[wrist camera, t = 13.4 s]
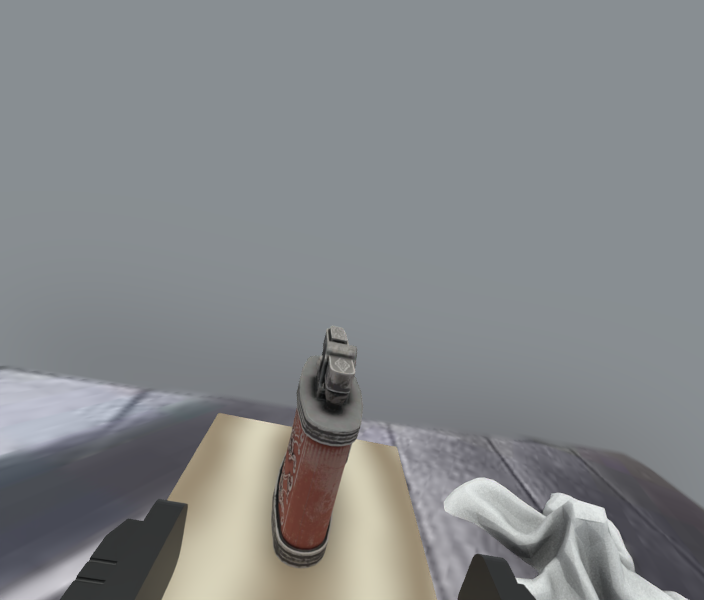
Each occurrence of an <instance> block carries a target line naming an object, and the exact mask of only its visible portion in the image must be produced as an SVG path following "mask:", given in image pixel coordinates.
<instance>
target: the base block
mask: <svg viewBox="0 0 704 600" xmlns="http://www.w3.org/2000/svg"><path fill="white" fill-rule="evenodd" d="M291 431H292V427H289V426H284V425H279V424H273V423H268V422H263V421H258V420H253V419H247V418H242V417H237V416H232V415H226V414H221V413H218V415H217V417H216V418H215V420H214V422H213V423H212V425H211V427H210V428H209V430H208V432H207V434H206V435H205V437H204V439H203V440H202V442H201V444H200V445H199V447H198V449H197V450H196V452H195V454H194V455H193V457H192V459H191V461H190V462H189V464H188V466H187V467H186V469H185V471H184V472H183V474H182V476H181V477H180V479H179V481H178V483H177V484H176V486H175V488H174V489H173V491H172V493H171V494H170V496H169V498H168V499H167V500H168V501H174V502H180V503H186V504H188V510H187V516H186V522H185V528H184V534H183V540H182V546H181V551H180V555H179V558H178V562H177V565H176V568H175V570H174V573H173V575H172V578H171V580H170V582H169V584H168V587H167V589H166V591H165V593H164V595H163V598H162V600H437V598H436V594H435V590H434V587H433V583H432V579H431V575H430V571H429V568H428V564H427V560H426V556H425V553H424V549H423V545H422V541H421V537H420V534H419V530H418V526H417V522H416V518H415V515H414V511H413V507H412V503H411V499H410V496H409V492H408V488H407V484H406V480H405V477H404V473H403V469H402V465H401V462H400V458H399V454H398V450H397V447H393V446H388V445H383V444H378V443H372V442H367V441H362V440H357V439H356V440H355V442H353V443H352V446H351V450H350V453H349V457H348V461H347V463H346V464H345V467H344V470H343V474H342V478H341V481H340V485H339V488H338V492H337V496H336V499H335V503H334V507H333V517H332V522H331V528H330V534H329V540H328V543H327V547H326V550H325V554H324V556H323V558H322V560H321V561H320V562H319V563H318V564H316V565H314V566H312V567H309V568H294V567H290V566H288V565H286V564H285V563H283V562H281V561H280V560H279V558H278V557H277V556H276V555H275V552H274V548H273V539H272V527H271V513H272V497H273V493H274V489H275V484H276V480H277V476H278V472H279V468H280V465H281V463H282V460H283V458H284V456H285V453H286V451H287V448H288V444H289V440H290V435H291Z"/></svg>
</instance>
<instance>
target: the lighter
mask: <svg viewBox="0 0 704 600" xmlns="http://www.w3.org/2000/svg"><path fill="white" fill-rule="evenodd" d="M356 357H357V348H356V346H351V345H349V344H348V340H347V336H346V333H345V332H344V329H343V328H340V327H336V326H331V328H330V329H327V331H326V336H325V340H324V343H323V352H322V356H312V357H310V358H309V359H308V360H307V362H306V363H305V365H304V367H303V369H302V373H301V377H300V381H299V386H298V390H297V410H296V414H295V418H294V423H293V427H292V431H291V435H290V440H289V444H288V448H287V451H286V453H285V456H284V458H283V460H282V463H281V465H280V468H279V472H278V476H277V480H276V484H275V489H274V493H273V497H272V513H271V527H272V539H273V548H274V552H275V555H276V556H277V557H278V558H279V560H280V561H281V562H283V563H285V564H286V565H288V566H290V567H294V568H309V567H312V566H314V565H316V564H318V563H319V562H320V561H321V560H322V558H323V556H324V554H325V550H326V547H327V543H328V540H329V534H330V528H331V522H332V517H333V507H334V503H335V499H336V496H337V492H338V488H339V485H340V481H341V478H342V474H343V470H344V467H345V464H346V463H347V461H348V457H349V453H350V450H351V446H352V443H353V442H355V440H356V439H357V436H358V433H359V429H360V425H361V420H362V411H363V403H362V395H361V390H360V388H359V385H358V382H357V380H356V377H355V376H354V375H355V366H356Z"/></svg>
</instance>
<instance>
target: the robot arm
mask: <svg viewBox="0 0 704 600" xmlns="http://www.w3.org/2000/svg"><path fill="white" fill-rule="evenodd" d="M187 510H188V504H186V503H180V502H174V501H168V500H162V499H158V500H157V501H156V502H155V504H154V505H153V507H152V508H151V510H150V511H149V513H148V514H147V516H146V518H145V519H144V521H139V520H133V519H127V520H126V521H124V522H123V523H122V524H120V525H119V526H118V527H117V528H115V529H114V530H113V531H111V532H110V533H109V534H108V535H106V537H105V538H104V539H103V541H102V542H101V543H100V545H99V546H98V548H97V549H96V550H95V552H94V553H93V555H92V556H91V557H90V560H89V562H87V563H86V564H85V566H84V567H83V568H82V570H81V571H80V572H79V574H78V575H77V578H76V580H75V581H73V582H72V584H71V585H70V586H69V588H68V589H67V590H66V592H65V593H64V595H63V596H62V597H61V599H60V600H162V598H163V595H164V593H165V591H166V589H167V587H168V584H169V582H170V580H171V578H172V575H173V573H174V570H175V568H176V565H177V562H178V558H179V555H180V551H181V546H182V540H183V534H184V528H185V522H186V516H187ZM458 600H536V599H535V597H534V596H533V595H532V594H531V593H530V591H529V590H528V589H527V588H526V586H525V585H524V584H519V583H518V582H517V580H516V578H515V576H514V574H513V572H512V570H511V568H510V566H509V564H508V563H507V561H506V560H505V559H503V558H499V557H493V556H487V555H481V554H476V555H474V557H473V559H472V561H471V564H470V566H469V569H468V572H467V574H466V577H465V579H464V582H463V584H462V587H461V590H460V592H459V595H458Z"/></svg>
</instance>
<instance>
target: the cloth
mask: <svg viewBox="0 0 704 600" xmlns="http://www.w3.org/2000/svg"><path fill="white" fill-rule="evenodd" d="M444 509H445V511H446V512H448V513H449V514H450V515H453V516H456V517H459V518H462V519H465V520H468V521H470V522H472V523H474V524H476V525H477V526H479V527H480V528H482V529H483V530H485V531H486V532H488V533H489V534H490V535H492V536H493V537H494V538H495V539H497V540H498V541H499V542H500V543H502V544H503V545H504V546H505V547H506V548H508V549H509V550H510V551H512V552H513V553H514V554H516V555H517V556H519V557H520V558H521V559H522V560H523V561H525V562H526V563H528V564H529V565H531V566H532V567H533V568H534V569H535V570H536V571H537V572H538V574H539V575H538V576H537V577H536V578H534V579H533V580H532V579H522V578H516V580H517V582H518V583H519V584H524V585H525V586H526V588H527V589H528V590H529V591H530V593H531V594H532V595H533V596H534V597H535V599H536V600H688V599H686V598H685V597H683V596H681V595H680V594H678V593H676V592H672V591H661V590H660V589H658V588H657V587H655V586H654V585H652V584H651V583H649V582H648V581H647V580H645V579H644V578H642V577H641V576H639V575H638V574H636V573H635V569H634V564H633V561H632V558H631V556H630V555H629V553H628V551H627V550H626V548H625V546H624V543H623V541H622V538H621V535H620V533H619V531H618V530H617V528H616V527H615V526H614V524H613V523H612V522H611V521H609V520H608V519H607V516H606V513H605V509H604V508H602V507H598V506H595V505H592V504H589V503H585V502H582V501H579V500H576V499H574V498H572V497H571V496H568V495H566V494H562V493H553V494H551V498H550V500H549V501H548V502H547V503H546V506H545V508H544V510H543V512H542V514H541V513H539V512H538V511H536V510H535V509H533V508H532V507H530V506H529V505H527V504H526V503H525V502H523V501H522V500H520V499H519V498H518V497H516V496H515V495H514V494H513V493H511V492H510V491H509V490H508V489H506V488H505V487H503V486H502V485H500V484H499V483H497V482H496V481H494V480H491V479H487V478H476V479H474V480H471V481H469V482H466V483H464V484H462V485H461V486H459V487H458V488H456V489H455V490H454V491H453V492H452V493H451V494H450V495H449V496H448V497H447V498H446V499H445V501H444Z"/></svg>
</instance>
